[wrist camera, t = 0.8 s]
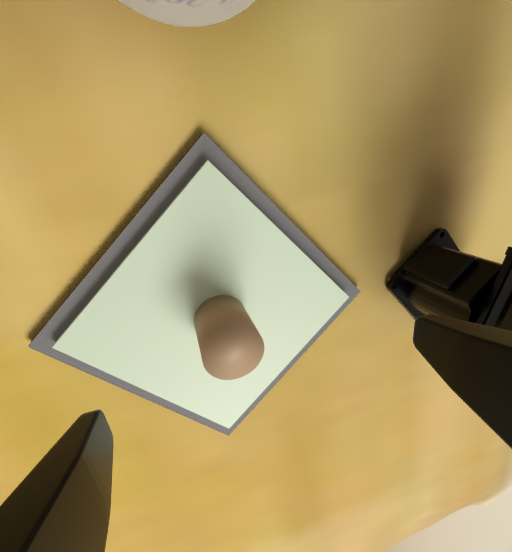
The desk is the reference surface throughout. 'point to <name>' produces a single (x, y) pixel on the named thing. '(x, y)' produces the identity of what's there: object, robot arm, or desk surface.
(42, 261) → the desk surface
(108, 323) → the lid
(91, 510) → the robot arm
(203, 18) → the teacup
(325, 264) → the mat
